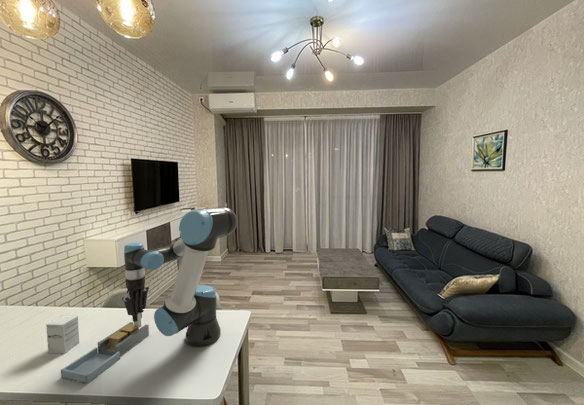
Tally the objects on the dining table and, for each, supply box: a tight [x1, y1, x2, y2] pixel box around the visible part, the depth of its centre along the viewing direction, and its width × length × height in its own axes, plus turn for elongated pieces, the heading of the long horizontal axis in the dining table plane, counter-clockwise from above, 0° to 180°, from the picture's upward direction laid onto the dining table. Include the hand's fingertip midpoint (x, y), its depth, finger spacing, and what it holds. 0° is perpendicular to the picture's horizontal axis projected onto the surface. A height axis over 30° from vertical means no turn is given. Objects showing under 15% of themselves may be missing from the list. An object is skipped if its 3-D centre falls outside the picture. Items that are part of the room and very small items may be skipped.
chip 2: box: [121, 324, 140, 336], centre depth 113 cm, size 5×4×4 cm
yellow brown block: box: [109, 331, 128, 347], centre depth 108 cm, size 5×4×4 cm
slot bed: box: [97, 321, 150, 358], centre depth 111 cm, size 10×16×5 cm, turn 167°
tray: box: [60, 346, 121, 385], centre depth 97 cm, size 12×13×3 cm
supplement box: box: [46, 315, 80, 354], centre depth 108 cm, size 7×7×13 cm
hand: (137, 326), depth 118 cm, fingers closed
